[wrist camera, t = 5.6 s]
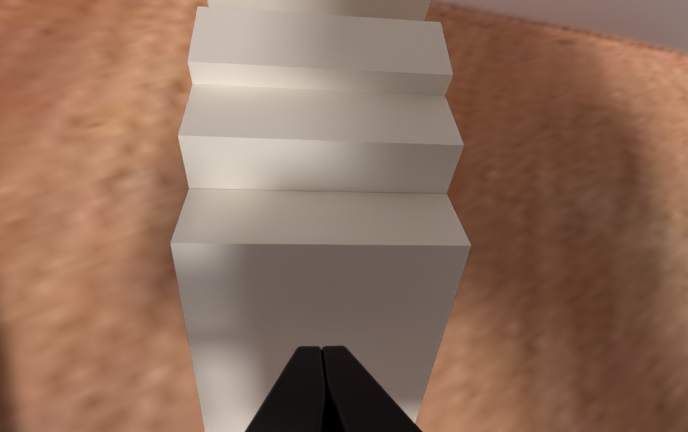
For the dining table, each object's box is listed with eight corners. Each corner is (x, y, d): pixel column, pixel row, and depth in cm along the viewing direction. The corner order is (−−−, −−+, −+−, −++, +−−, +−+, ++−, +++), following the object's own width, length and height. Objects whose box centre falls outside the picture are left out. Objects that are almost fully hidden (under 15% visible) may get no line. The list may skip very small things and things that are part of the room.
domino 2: (384, 364, 15) (464, 145, 8) (226, 368, 14) (178, 135, 8) (378, 320, 16) (445, 96, 9) (232, 322, 15) (192, 83, 9)
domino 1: (395, 485, 13) (471, 245, 8) (217, 495, 13) (170, 243, 7) (386, 431, 14) (446, 194, 9) (224, 438, 14) (188, 188, 9)
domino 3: (376, 267, 17) (453, 74, 9) (235, 267, 16) (187, 61, 8) (373, 228, 17) (440, 22, 10) (239, 227, 17) (197, 6, 9)
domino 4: (369, 185, 18) (435, -13, 10) (241, 181, 18) (202, -30, 10) (367, 150, 19) (427, -60, 11) (244, 146, 18) (209, -79, 10)
